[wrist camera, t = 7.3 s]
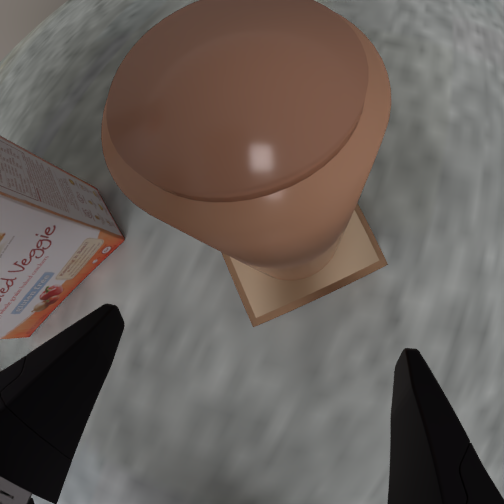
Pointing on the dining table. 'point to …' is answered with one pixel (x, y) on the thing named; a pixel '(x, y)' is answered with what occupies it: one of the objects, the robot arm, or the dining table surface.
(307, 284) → the plinth
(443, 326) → the dining table surface
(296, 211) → the tan lidded canister
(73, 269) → the cracker box
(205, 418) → the dining table surface
